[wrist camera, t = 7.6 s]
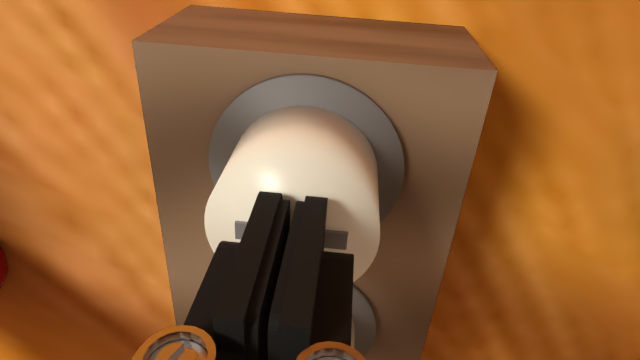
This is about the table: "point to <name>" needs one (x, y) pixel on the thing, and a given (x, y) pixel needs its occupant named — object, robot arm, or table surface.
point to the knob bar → (339, 97)
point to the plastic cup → (2, 267)
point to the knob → (302, 179)
